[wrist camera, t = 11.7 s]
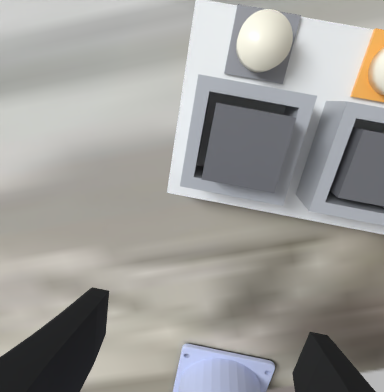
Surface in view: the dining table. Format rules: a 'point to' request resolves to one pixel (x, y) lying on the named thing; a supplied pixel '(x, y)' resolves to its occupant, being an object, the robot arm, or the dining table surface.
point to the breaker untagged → (247, 147)
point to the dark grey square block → (361, 168)
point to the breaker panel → (281, 105)
